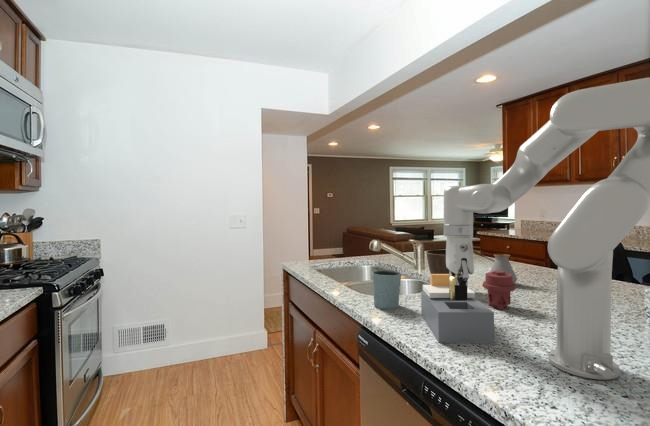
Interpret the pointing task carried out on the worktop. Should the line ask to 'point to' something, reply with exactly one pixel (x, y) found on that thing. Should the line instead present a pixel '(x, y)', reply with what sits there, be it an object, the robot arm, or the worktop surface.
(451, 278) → the peg
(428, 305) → the housing
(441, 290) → the lid
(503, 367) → the worktop surface
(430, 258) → the plant pot
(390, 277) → the blue-grey cup
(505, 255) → the coffee pot
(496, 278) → the mechanical component
